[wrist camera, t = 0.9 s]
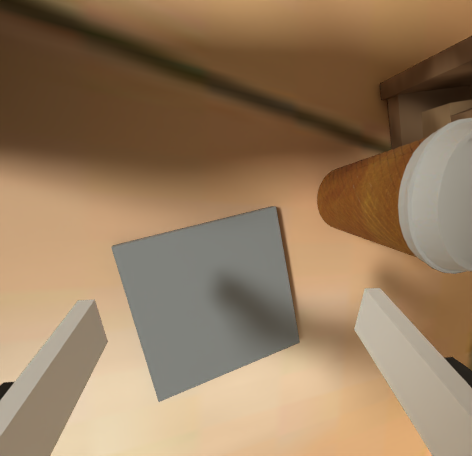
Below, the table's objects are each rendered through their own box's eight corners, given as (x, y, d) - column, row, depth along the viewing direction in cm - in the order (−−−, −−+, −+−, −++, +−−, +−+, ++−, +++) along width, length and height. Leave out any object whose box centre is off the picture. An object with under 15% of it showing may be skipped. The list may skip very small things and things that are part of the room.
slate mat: (113, 245, 19) (111, 247, 19) (272, 206, 23) (275, 206, 22) (158, 395, 22) (158, 402, 21) (295, 338, 26) (299, 342, 25)
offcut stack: (421, 112, 26) (480, 92, 21) (461, 105, 27) (525, 86, 23) (426, 189, 27) (483, 187, 22) (464, 179, 29) (524, 174, 24)
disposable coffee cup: (317, 137, 24) (462, 82, 12) (389, 167, 27) (558, 145, 15) (291, 233, 24) (410, 263, 13) (365, 252, 27) (514, 291, 16)
